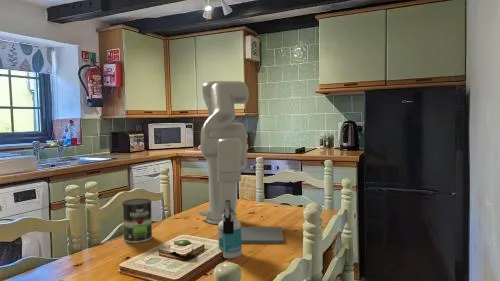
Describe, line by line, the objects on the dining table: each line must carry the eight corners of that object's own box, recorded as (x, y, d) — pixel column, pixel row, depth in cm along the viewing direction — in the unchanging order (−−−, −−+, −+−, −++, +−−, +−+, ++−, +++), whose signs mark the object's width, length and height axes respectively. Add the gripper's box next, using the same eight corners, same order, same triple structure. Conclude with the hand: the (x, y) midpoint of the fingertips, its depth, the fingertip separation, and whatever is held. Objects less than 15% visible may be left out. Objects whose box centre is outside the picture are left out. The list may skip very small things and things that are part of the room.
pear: (181, 242, 117) (163, 241, 124) (183, 259, 116) (165, 257, 123) (195, 238, 121) (177, 236, 128) (197, 254, 120) (179, 252, 127)
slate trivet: (238, 243, 132) (238, 240, 132) (241, 229, 148) (241, 226, 148) (283, 243, 131) (283, 240, 131) (281, 229, 147) (281, 226, 147)
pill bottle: (245, 252, 123) (244, 212, 122) (235, 260, 116) (234, 218, 115) (225, 249, 126) (224, 210, 125) (214, 257, 119) (213, 216, 118)
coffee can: (155, 240, 136) (154, 202, 135) (126, 245, 131) (124, 205, 130) (149, 232, 145) (148, 197, 144) (121, 236, 140) (120, 200, 139)
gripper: (220, 173, 128) (221, 222, 128) (213, 180, 110) (214, 237, 111) (242, 173, 127) (243, 222, 128) (238, 180, 110) (239, 237, 111)
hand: (229, 229), depth 120 cm, fingers open, 9 cm apart
